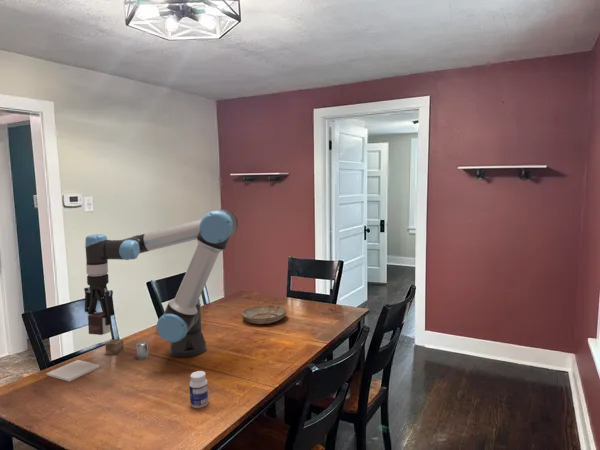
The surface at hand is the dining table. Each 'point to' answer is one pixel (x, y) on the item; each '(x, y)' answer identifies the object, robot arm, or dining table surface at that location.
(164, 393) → the dining table surface
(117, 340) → the walnut cube
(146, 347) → the grey tin
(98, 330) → the box
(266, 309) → the ceramic bowl
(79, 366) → the plate
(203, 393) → the pill bottle
